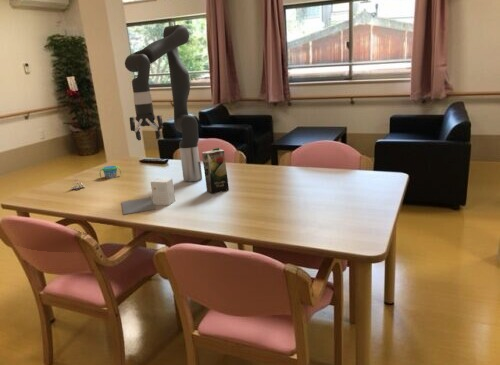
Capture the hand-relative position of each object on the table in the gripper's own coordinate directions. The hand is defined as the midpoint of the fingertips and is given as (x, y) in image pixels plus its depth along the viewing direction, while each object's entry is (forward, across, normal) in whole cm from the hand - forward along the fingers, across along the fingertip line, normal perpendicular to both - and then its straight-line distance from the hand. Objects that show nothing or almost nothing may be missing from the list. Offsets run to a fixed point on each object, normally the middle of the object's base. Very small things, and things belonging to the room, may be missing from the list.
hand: (148, 139), depth 180 cm
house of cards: (+28, +48, -14) cm, 57 cm away
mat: (+27, +5, +11) cm, 30 cm away
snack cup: (+28, +39, -36) cm, 60 cm away
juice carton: (+28, -27, -8) cm, 39 cm away
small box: (+28, -6, +8) cm, 29 cm away
